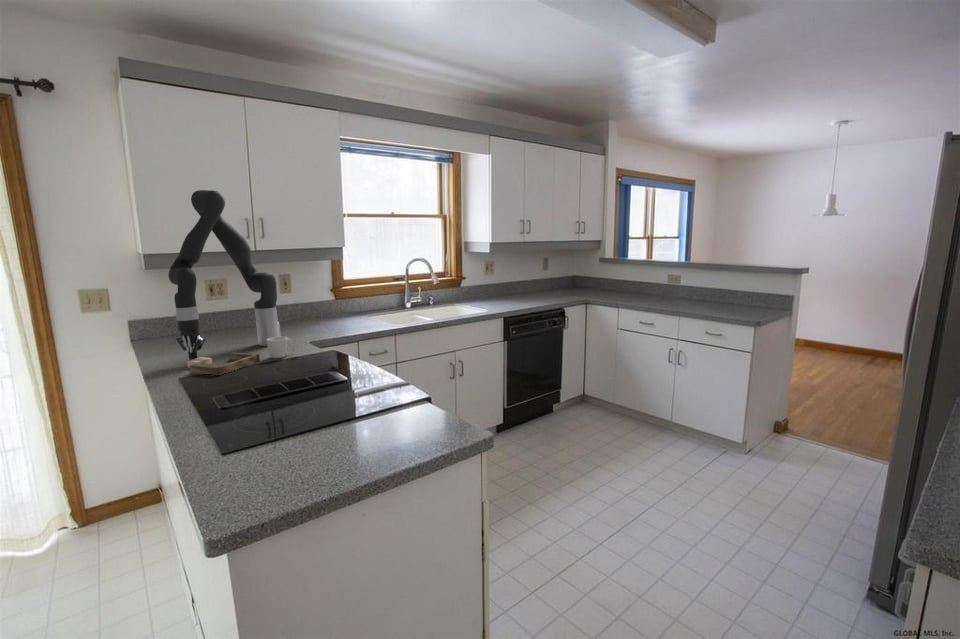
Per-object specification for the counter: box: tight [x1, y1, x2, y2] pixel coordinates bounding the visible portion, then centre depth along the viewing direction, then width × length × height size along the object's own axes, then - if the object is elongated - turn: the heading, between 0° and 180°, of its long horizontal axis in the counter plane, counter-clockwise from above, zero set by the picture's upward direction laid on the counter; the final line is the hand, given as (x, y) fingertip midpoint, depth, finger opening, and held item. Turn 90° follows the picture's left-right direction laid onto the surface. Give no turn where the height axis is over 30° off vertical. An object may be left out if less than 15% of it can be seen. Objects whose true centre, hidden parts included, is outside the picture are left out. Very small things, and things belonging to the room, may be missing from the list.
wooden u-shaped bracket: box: [189, 351, 261, 376], centre depth 188 cm, size 20×14×3 cm
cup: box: [266, 335, 293, 359], centre depth 202 cm, size 11×8×8 cm
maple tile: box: [186, 356, 213, 369], centre depth 191 cm, size 6×6×3 cm
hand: (193, 360), depth 193 cm, fingers closed
